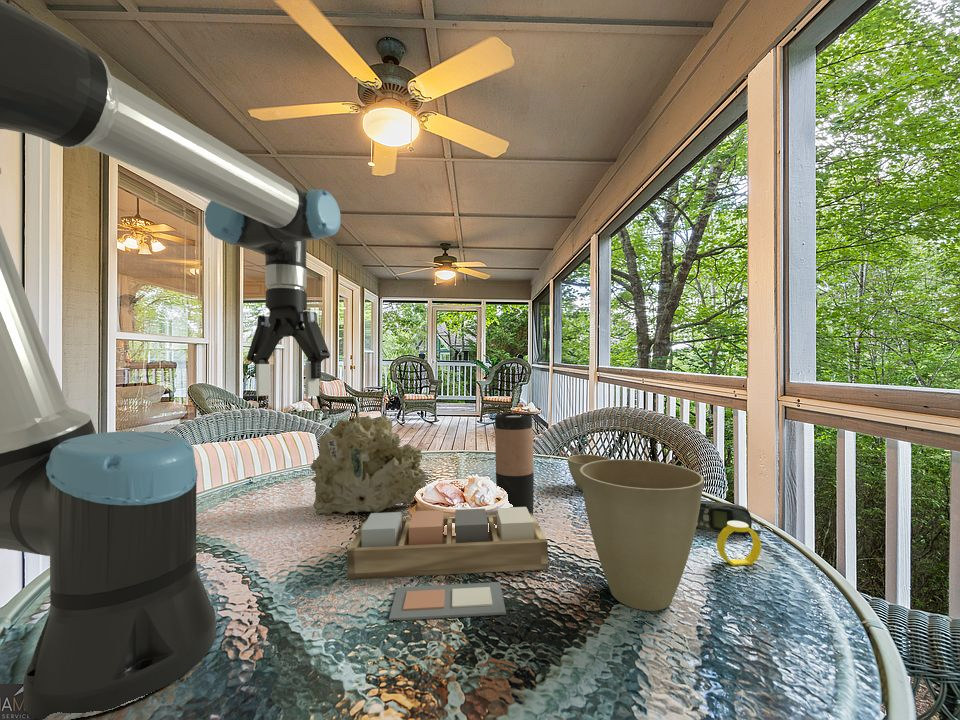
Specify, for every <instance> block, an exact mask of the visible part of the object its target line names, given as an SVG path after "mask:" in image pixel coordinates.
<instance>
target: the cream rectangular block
mask: <svg viewBox="0 0 960 720" xmlns="http://www.w3.org/2000/svg"><path fill="white" fill-rule="evenodd" d="M496 515H497V527H498V531H499V535H500V538H501V541H513V540H534V521H533V519H532V517H531V515H530V513H529V511H528V509H527V507H510V508H498V507H496Z"/></svg>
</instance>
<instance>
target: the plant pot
mask: <svg viewBox="0 0 960 720" xmlns="http://www.w3.org/2000/svg"><path fill="white" fill-rule="evenodd" d="M580 475H581V482H582V488H583V490H582V494H583V498H584V499H583V500H584V505H585V511H586V515H587V520H588V524H589V529H590V533H591V536H592V540H593V543H594V547H595V550H596V553H597V557H598V560H599V563H600V567H601V569H602V571H603V572H602V573H603V575H604V577H605V579H606V583H607V585H608V588H609V591H610V593H611V595H612V596H613V597H614V599H616V600H617V601H618V602H619V603H621V604H623V605H624V606H627V607H629V608H632V609H635V610H640V611H646V612H647V611H649V612H654V611H660V610H661V611H662V610H664V609H666V608H668V607H669V606H670V605H672V601H673V599H674V597H675V595H676V592H677V590H678V587H679V586H680V582H681V579H682V577H683V574H684V572H685V568H686V566H687V562H688V559H689V556H690V553H691V549H692V546H693V542H694V538H695V533H696V530H697V529H696V526H697V521H698V516H699V510H700V504H701V500H702V496H703V489H704V488H703V487H704V482H705V481H704V480H705V479H704V477H703V476H702V475H701V474H700V473H699V472H697V471H695V470H694V469H693V470H692V469H690V468H687V467H684V466H680V465H675V464H672V463H667V462H660V461H652V460H646V459H645V460H643V459H631V458H629V459H628V458H626V459H625V458H624V459H623V458H619V459H610V460H600V461H595V462H591V463H588V464H585V465H583V466H582V467H581V468H580Z"/></svg>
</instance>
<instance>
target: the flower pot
mask: <svg viewBox="0 0 960 720" xmlns="http://www.w3.org/2000/svg"><path fill="white" fill-rule="evenodd" d="M566 460H567V465H568V469H569V472H570V475H571V478H572V480H573V482H574V484H575V486H576V487H577V488H578V489H579V490H580V491H583V488H582V482H581V475H580V468H581V467H582V466H583V465H585V464H588V463H591V462H595V461H600V460H611V459H610V458H608V457H606V456H602V455H597V454H574V455H573V454H572V455H570V456H568V457H567V459H566Z"/></svg>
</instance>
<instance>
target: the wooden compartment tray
mask: <svg viewBox="0 0 960 720" xmlns="http://www.w3.org/2000/svg"><path fill="white" fill-rule="evenodd" d="M530 515H531V517H532V519H533V521H534V540H513V541H501V538H500V535H499V531H498V527H497V528H495V525H497V514H486V516H487V520H488V523H489V532H488V534H489V542H470V543H456V536H452V523H455V518H447V517H448V516H444V526H445V525H447V535H444V534H443V544H427V545H409V525H410V522H411V518H412V517H410V518H401V521H402V531H401V534H400V537H399V540H398V543H397V546H384V547H362V533H361V530H362V528H363V526H364V524H365V523H366V521H367V519H366V520H364V522H363V524H362V525H361V527H360V528H359V530H358V531H357V533H356V536H355V537H354V539H353V540H352V542H351V544H350V545H349V547H348V549H347V550H346V558H347V559H346V562H347V564H346V565H347V566H346V567H347V580H361V579H362V580H363V579H379V578H400V577H420V576H437V575H439V576H441V575H457V574H458V575H460V574H479V573H482V574H483V573H495V572H496V573H497V572H499V573H500V572H519V571H537V570H548V569H549V554H548V553H549V552H548V551H549V549H548V546H549V545H548V542H549V541H548V540H547V538H546V536H545V535H544V532H543V530H542V529H541V527H540V525H539V522H538V521H537V519H536V516H535V515H534V512H533V513H530ZM494 524H495V525H494Z"/></svg>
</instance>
